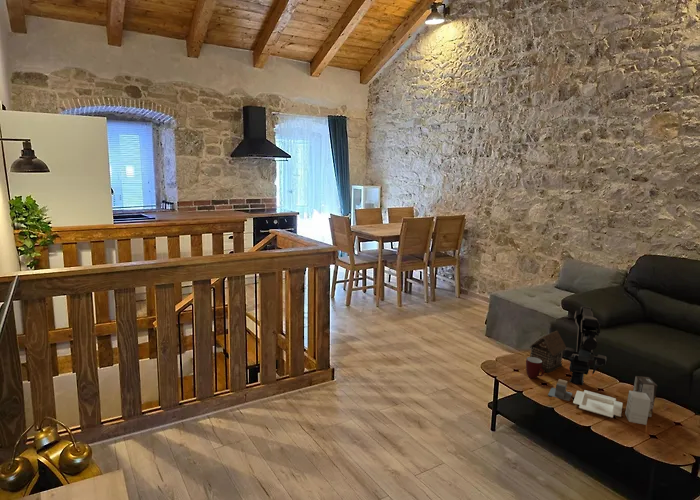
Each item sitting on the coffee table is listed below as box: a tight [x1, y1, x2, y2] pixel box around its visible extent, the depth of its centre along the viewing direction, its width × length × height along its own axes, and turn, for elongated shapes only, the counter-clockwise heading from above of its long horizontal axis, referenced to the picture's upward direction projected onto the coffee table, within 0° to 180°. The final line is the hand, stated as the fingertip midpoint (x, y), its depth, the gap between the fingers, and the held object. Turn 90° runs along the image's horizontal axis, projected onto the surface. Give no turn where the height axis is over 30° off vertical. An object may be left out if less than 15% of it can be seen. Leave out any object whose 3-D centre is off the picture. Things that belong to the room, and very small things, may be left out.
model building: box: [529, 330, 567, 374], centre depth 269 cm, size 18×14×20 cm
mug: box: [525, 356, 545, 380], centre depth 253 cm, size 10×8×10 cm
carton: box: [572, 389, 624, 419], centre depth 226 cm, size 21×20×2 cm
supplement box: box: [624, 390, 651, 426], centre depth 215 cm, size 7×7×13 cm
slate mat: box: [547, 386, 573, 402], centre depth 236 cm, size 10×10×1 cm
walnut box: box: [555, 378, 568, 399], centre depth 236 cm, size 8×4×6 cm, turn 147°
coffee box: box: [632, 375, 658, 418], centre depth 222 cm, size 9×6×16 cm
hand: (582, 371), depth 236 cm, fingers open, 9 cm apart
